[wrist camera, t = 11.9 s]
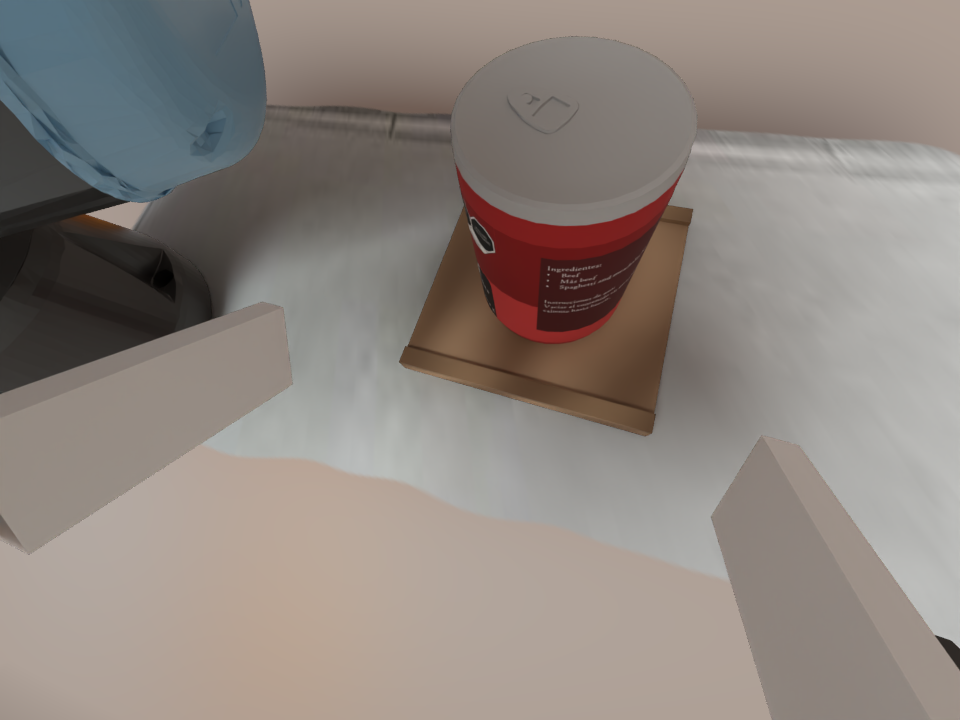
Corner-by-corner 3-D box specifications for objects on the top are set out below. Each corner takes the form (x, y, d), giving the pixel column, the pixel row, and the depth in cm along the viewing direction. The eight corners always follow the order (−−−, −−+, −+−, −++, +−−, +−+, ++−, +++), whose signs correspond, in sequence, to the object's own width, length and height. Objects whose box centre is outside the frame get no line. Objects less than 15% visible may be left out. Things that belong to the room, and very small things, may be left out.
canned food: (515, 219, 24) (505, 17, 14) (637, 258, 22) (733, 55, 12) (461, 317, 22) (404, 168, 12) (590, 370, 20) (654, 245, 10)
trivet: (405, 367, 22) (399, 361, 21) (476, 187, 26) (474, 174, 25) (645, 436, 20) (652, 433, 19) (685, 221, 23) (693, 209, 22)
